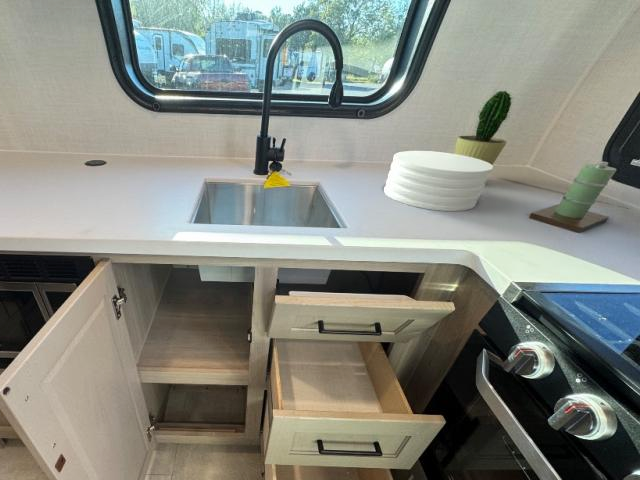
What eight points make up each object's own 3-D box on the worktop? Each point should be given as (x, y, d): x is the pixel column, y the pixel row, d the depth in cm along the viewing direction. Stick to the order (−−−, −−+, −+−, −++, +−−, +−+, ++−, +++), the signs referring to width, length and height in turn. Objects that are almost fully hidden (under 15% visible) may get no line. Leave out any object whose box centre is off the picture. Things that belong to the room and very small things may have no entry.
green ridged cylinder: (585, 214, 91) (621, 162, 83) (582, 220, 88) (620, 166, 79) (555, 208, 95) (587, 158, 87) (552, 213, 91) (585, 161, 83)
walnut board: (556, 208, 100) (559, 203, 99) (605, 221, 91) (609, 216, 90) (528, 217, 92) (531, 212, 92) (579, 233, 84) (582, 227, 83)
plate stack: (496, 207, 99) (516, 169, 92) (423, 214, 92) (439, 174, 86) (430, 181, 121) (442, 149, 114) (367, 186, 114) (376, 152, 107)
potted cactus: (438, 173, 131) (471, 86, 113) (479, 177, 128) (520, 88, 110) (446, 184, 119) (485, 88, 101) (492, 188, 116) (541, 90, 98)
